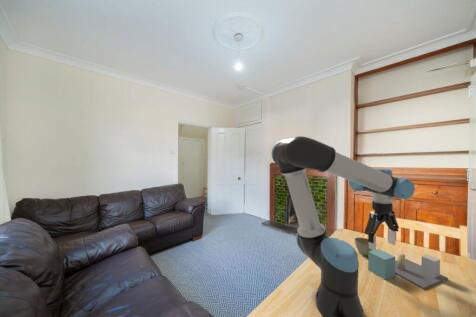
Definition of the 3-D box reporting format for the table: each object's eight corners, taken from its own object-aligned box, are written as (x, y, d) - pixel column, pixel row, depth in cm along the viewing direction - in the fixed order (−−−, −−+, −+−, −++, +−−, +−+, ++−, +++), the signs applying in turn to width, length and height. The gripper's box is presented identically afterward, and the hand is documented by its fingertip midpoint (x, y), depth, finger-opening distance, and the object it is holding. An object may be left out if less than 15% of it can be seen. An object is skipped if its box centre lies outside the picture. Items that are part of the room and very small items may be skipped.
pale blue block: (384, 279, 80) (384, 259, 80) (368, 269, 87) (368, 251, 86) (395, 275, 82) (395, 256, 82) (378, 266, 89) (378, 248, 89)
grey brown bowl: (376, 261, 94) (376, 247, 94) (353, 254, 100) (353, 242, 100) (376, 252, 102) (376, 240, 101) (355, 247, 108) (355, 235, 107)
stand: (423, 289, 74) (424, 269, 74) (381, 266, 89) (381, 250, 89) (447, 279, 80) (448, 260, 80) (404, 259, 95) (404, 244, 95)
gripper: (371, 207, 76) (372, 256, 77) (408, 200, 84) (408, 245, 85) (355, 202, 83) (355, 247, 84) (390, 197, 92) (390, 238, 92)
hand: (382, 246), depth 84 cm, fingers open, 13 cm apart
